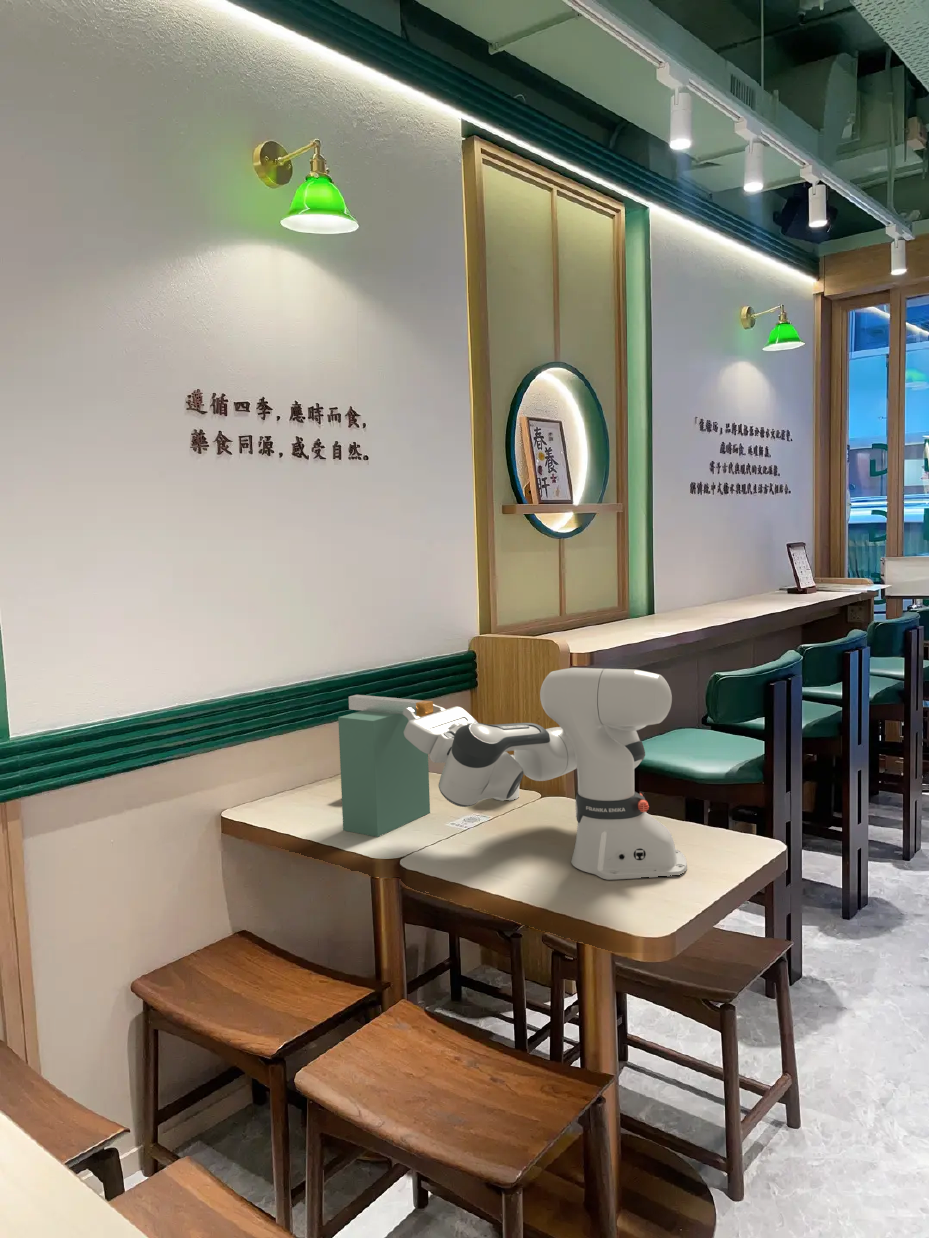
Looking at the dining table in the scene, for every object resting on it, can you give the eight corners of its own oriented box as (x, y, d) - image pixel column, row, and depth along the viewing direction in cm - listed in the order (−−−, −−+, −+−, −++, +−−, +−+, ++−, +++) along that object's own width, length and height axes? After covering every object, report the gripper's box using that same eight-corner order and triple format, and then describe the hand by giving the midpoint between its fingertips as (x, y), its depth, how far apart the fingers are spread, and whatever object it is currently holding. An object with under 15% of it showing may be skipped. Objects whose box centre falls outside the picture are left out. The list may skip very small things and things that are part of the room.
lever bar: (433, 714, 208) (432, 701, 208) (425, 716, 206) (425, 703, 206) (357, 707, 220) (356, 694, 220) (349, 709, 218) (348, 696, 218)
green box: (430, 812, 222) (426, 705, 220) (377, 836, 206) (373, 720, 203) (396, 807, 228) (392, 702, 225) (343, 830, 211) (338, 717, 209)
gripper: (491, 722, 211) (447, 688, 217) (440, 740, 194) (393, 703, 200) (480, 744, 213) (436, 710, 219) (429, 764, 196) (382, 726, 202)
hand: (415, 707), depth 209 cm, fingers open, 6 cm apart
